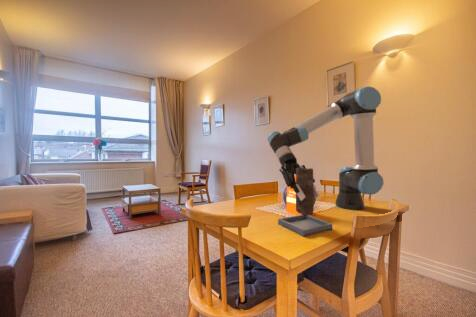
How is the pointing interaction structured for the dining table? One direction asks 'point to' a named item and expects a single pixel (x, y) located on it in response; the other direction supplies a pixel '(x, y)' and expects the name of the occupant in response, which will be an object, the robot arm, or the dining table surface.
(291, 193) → the orange juice
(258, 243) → the dining table surface
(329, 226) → the tray
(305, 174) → the candle
